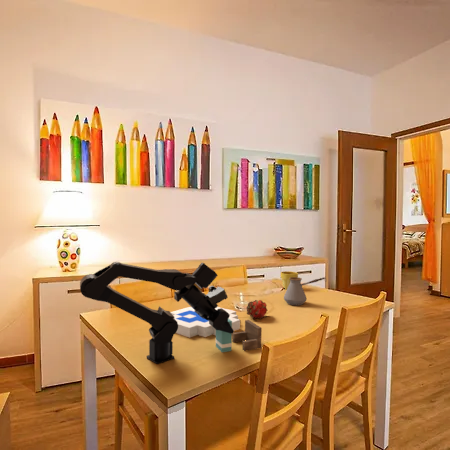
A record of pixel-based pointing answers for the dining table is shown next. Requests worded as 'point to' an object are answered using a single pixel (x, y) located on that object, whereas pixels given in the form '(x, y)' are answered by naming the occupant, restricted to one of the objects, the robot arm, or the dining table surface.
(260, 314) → the dragon fruit
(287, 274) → the plant pot
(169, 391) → the dining table surface
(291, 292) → the coffee pot
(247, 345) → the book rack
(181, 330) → the stepped white slab
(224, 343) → the book
